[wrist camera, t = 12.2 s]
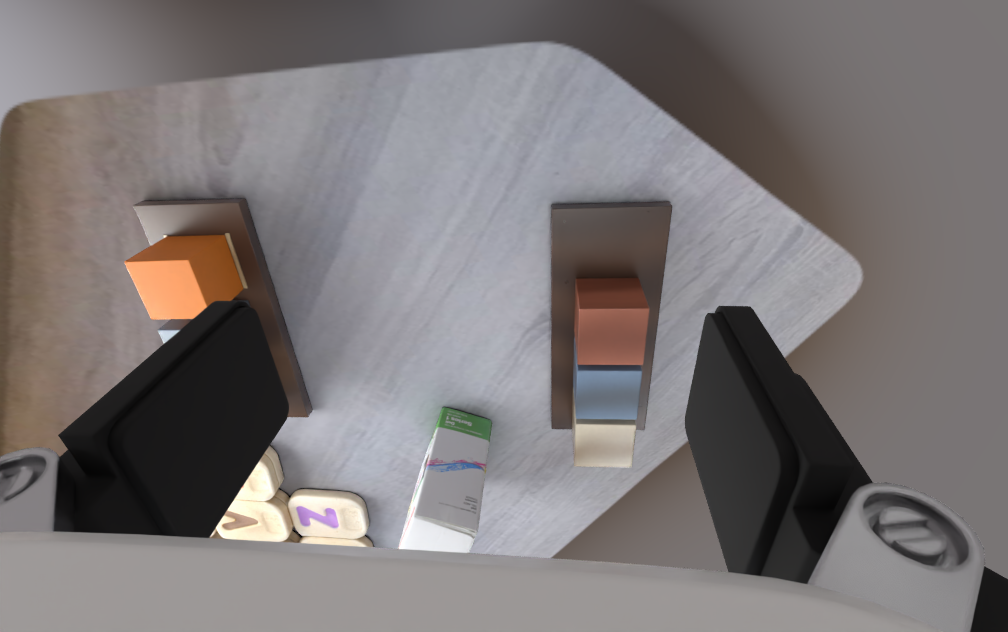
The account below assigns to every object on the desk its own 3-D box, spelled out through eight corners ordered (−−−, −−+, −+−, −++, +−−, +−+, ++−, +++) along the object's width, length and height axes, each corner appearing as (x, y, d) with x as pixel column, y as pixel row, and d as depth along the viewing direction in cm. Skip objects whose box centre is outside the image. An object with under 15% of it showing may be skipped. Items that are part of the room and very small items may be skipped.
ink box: (442, 404, 45) (411, 516, 35) (494, 420, 45) (479, 535, 35) (419, 466, 49) (387, 582, 39) (467, 480, 50) (447, 598, 40)
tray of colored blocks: (142, 201, 37) (82, 227, 32) (245, 198, 36) (200, 225, 31) (230, 409, 47) (195, 452, 42) (312, 410, 46) (286, 454, 42)
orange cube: (166, 236, 37) (123, 261, 33) (224, 234, 37) (188, 259, 33) (188, 290, 39) (151, 319, 35) (244, 289, 39) (212, 318, 35)
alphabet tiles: (391, 631, 65) (386, 651, 63) (152, 610, 67) (139, 629, 65) (356, 445, 48) (348, 465, 46) (37, 424, 50) (15, 442, 48)
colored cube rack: (551, 204, 35) (552, 233, 30) (669, 201, 34) (688, 230, 29) (551, 421, 45) (552, 468, 40) (642, 422, 44) (654, 470, 40)
